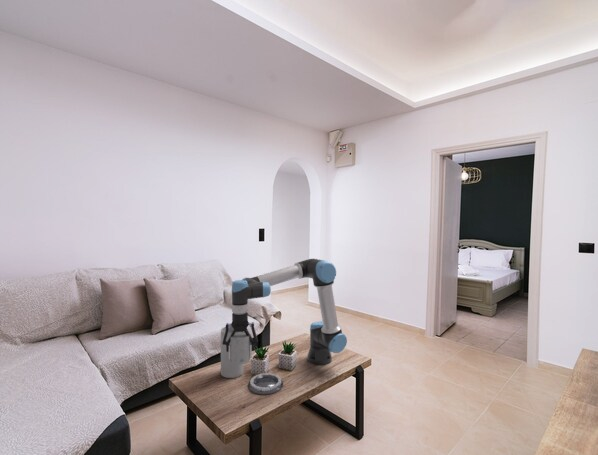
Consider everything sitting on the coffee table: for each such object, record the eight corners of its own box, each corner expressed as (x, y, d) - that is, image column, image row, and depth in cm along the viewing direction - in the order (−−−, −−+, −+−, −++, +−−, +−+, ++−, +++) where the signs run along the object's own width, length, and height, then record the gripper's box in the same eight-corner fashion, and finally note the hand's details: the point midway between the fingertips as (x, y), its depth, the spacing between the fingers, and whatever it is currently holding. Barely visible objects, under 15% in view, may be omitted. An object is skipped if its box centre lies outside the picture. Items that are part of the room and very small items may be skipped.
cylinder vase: (230, 381, 169) (230, 334, 169) (216, 374, 177) (216, 329, 176) (248, 372, 179) (248, 328, 179) (233, 366, 187) (233, 324, 186)
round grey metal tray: (282, 376, 175) (282, 371, 175) (283, 393, 157) (283, 388, 157) (249, 377, 173) (249, 373, 173) (247, 395, 155) (247, 390, 155)
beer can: (227, 363, 151) (227, 338, 151) (234, 355, 161) (234, 331, 160) (246, 364, 150) (246, 339, 150) (252, 356, 159) (252, 331, 159)
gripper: (215, 315, 150) (216, 362, 150) (262, 313, 152) (263, 359, 153) (218, 310, 157) (218, 355, 158) (262, 309, 159) (263, 353, 160)
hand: (240, 357), depth 155 cm, fingers closed on beer can, 9 cm apart
